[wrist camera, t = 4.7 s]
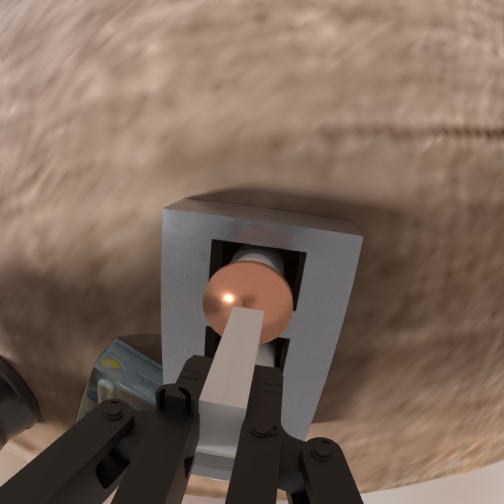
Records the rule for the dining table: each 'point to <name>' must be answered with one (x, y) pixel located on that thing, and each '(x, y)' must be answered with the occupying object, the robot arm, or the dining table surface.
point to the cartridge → (220, 463)
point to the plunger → (250, 290)
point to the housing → (303, 292)
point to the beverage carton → (122, 379)
